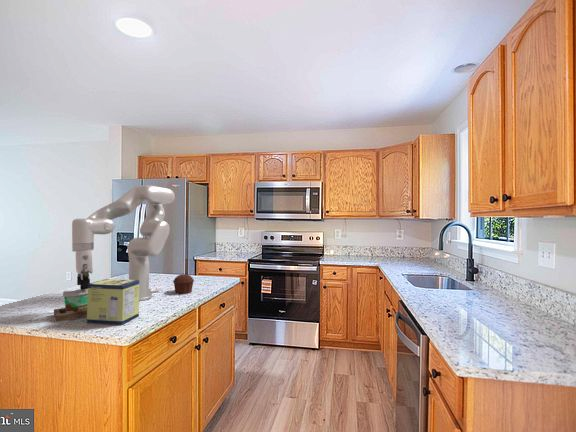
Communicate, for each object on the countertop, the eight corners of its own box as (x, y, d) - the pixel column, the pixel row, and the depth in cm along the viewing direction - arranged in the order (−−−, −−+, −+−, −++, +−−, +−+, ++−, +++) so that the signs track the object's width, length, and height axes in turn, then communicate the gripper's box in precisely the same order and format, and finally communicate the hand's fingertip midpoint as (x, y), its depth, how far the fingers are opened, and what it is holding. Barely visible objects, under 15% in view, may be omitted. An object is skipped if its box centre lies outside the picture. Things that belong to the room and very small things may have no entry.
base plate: (101, 307, 131) (101, 302, 131) (106, 313, 123) (106, 307, 123) (53, 315, 119) (53, 309, 119) (55, 322, 111) (55, 315, 111)
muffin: (169, 291, 162) (170, 274, 163) (188, 289, 170) (188, 272, 170) (177, 296, 154) (178, 277, 154) (197, 292, 161) (197, 275, 161)
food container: (74, 317, 114) (73, 291, 114) (62, 316, 115) (62, 291, 116) (101, 308, 126) (101, 285, 126) (90, 307, 127) (90, 285, 128)
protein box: (105, 314, 121) (106, 278, 122) (139, 316, 120) (140, 279, 120) (85, 323, 111) (86, 283, 111) (122, 325, 109) (123, 285, 110)
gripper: (97, 248, 118) (97, 289, 118) (90, 244, 131) (90, 281, 131) (74, 249, 113) (75, 292, 113) (69, 246, 126) (70, 284, 126)
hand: (83, 286), depth 122 cm, fingers open, 9 cm apart
